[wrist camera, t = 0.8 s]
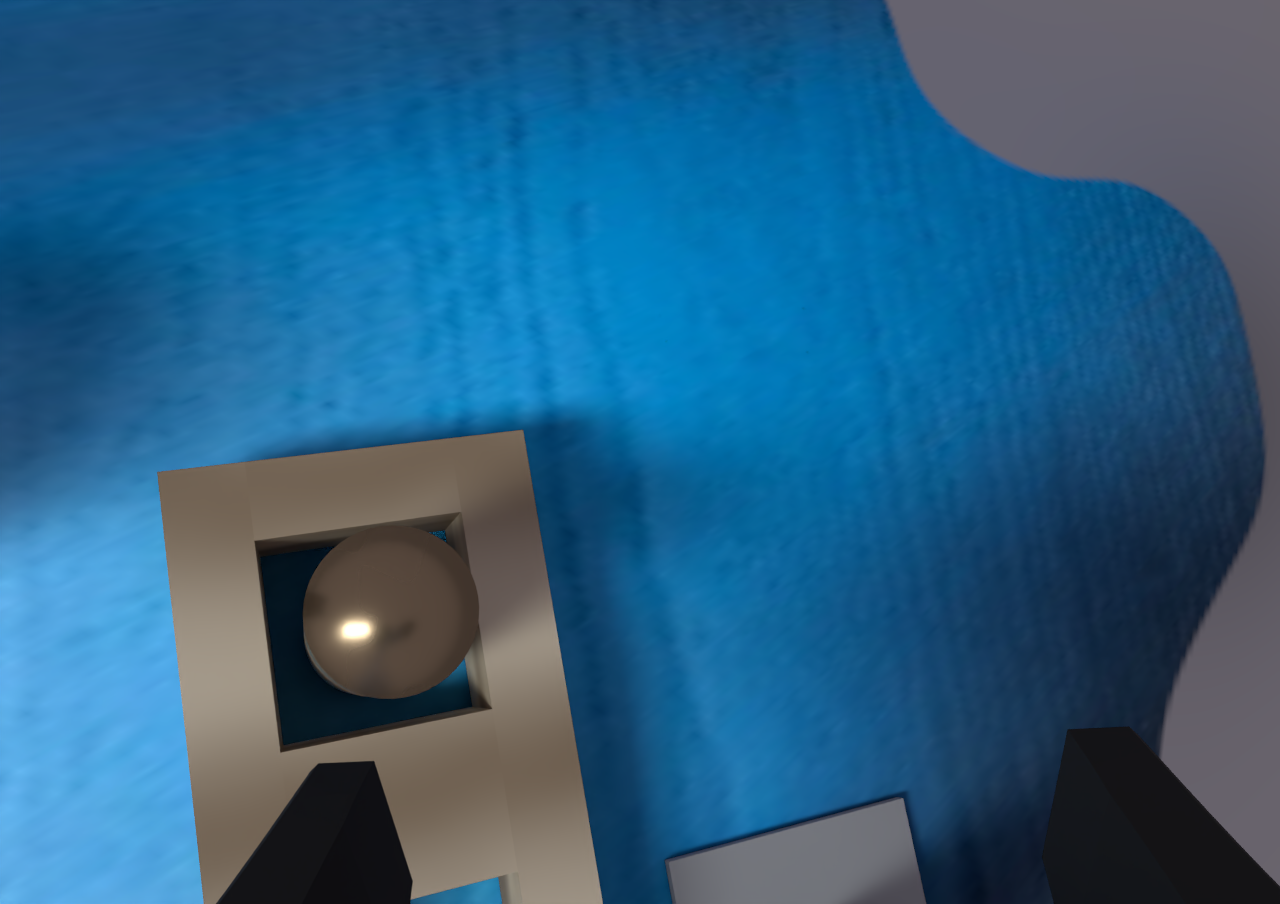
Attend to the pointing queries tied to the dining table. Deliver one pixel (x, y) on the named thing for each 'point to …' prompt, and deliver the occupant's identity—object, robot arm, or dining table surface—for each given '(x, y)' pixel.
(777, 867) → the mat
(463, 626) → the bronze peg
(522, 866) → the hole block
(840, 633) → the dining table surface
